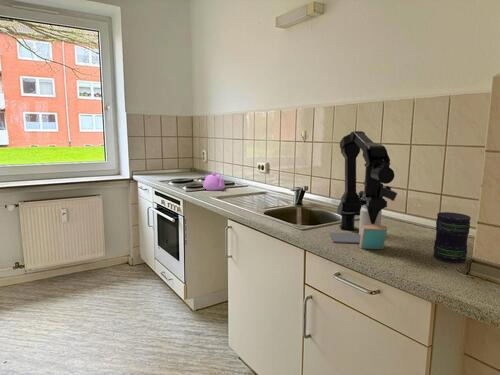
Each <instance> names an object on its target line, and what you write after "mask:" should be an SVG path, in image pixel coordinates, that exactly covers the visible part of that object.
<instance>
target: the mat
mask: <svg viewBox="0 0 500 375" xmlns="http://www.w3.org/2000/svg"><path fill="white" fill-rule="evenodd" d="M329 235H330V238H331V241H332V242H333V244H334V243H335V244H352V245H353V244H357V245H360V239H361V235H360V234H359V233H354V232H353V233H352V232H350V233H349V232H329Z"/></svg>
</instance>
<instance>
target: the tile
mask: <svg viewBox="0 0 500 375" xmlns="http://www.w3.org/2000/svg"><path fill="white" fill-rule="evenodd" d="M387 232H388V228H387V226H386V225H381V226H375V225H363V227H362V233H361V239H360V244H359V248H360V249H365V250H384V247H385V241H386V236H387Z"/></svg>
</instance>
